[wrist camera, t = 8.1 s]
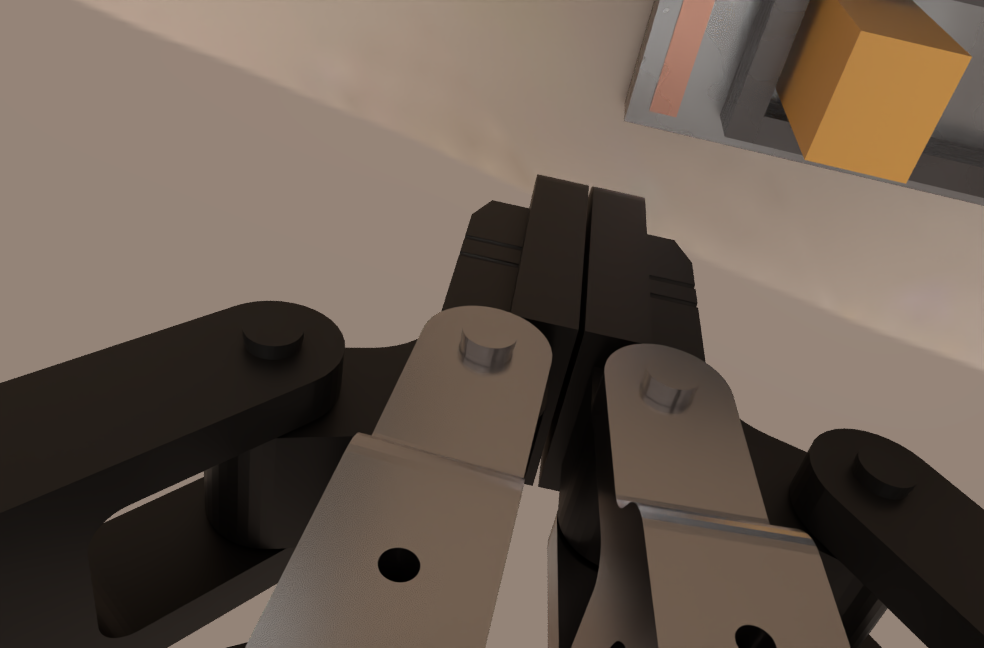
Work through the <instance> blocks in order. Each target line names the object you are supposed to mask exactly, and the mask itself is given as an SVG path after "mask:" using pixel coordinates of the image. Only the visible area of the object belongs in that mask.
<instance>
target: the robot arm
mask: <svg viewBox="0 0 984 648" xmlns="http://www.w3.org/2000/svg"><path fill="white" fill-rule="evenodd" d="M588 191H589V186H588V185H583V184H579V183H574V182H570V181H565V180H561V179H556V178H552V177H547V176H543V175H538V174H537V178H536V182H535V186H534V190H533V194H532V199H531V204H530V207H529V208H525V207H520V206H516V205H511V204H506V203H502V202H497V201H493V200H492V201H491V202H489V203H488V204H486V205H485V206H483V207H482V208H481V209H479V210H478V211H476V212H475V213H473V214H472V216H471V219H470V222H469V226H468V228H467V232H466V235H465V239H464V241H463V244H462V248H461V251H460V255H459V257H458V260H457V263H456V267H455V270H454V273H453V276H452V279H451V283H450V286H449V289H448V292H447V295H446V299H445V302H444V305H443V308H442V311H441V312H439V313H438V314H436V315H434V316H433V317H432V318H431V319H430V320H429V321H428V322H427V323H426V324H425V326H424V328H423V330H422V332H421V334H420V336H419V338H418V339H416V340H414V341H411V342H409V343H406V344H401V345H397V346H391V347H382V348H345V341H344V338H343V335H342V333H341V331H340V330H339V328H338V326H336V325H335V323H334V322H333V321H332V320H330V319H329V318H328V317H326V316H325V315H323V314H321V313H320V312H318V311H316V310H313V309H311V308H308V307H306V306H302V305H298V304H294V303H289V302H282V301H257V302H250V303H245V304H241V305H237V306H234V307H231V308H228V309H225V310H222V311H218V312H215V313H213V314H209V315H206V316H203V317H200V318H197V319H194V320H191V321H188V322H185V323H182V324H179V325H176V326H173V327H170V328H167V329H164V330H161V331H158V332H155V333H151V334H148V335H145V336H142V337H140V338H136V339H133V340H130V341H127V342H124V343H121V344H118V345H115V346H112V347H109V348H106V349H103V350H100V351H97V352H94V353H91V354H88V355H84V356H81V357H79V358H75V359H72V360H70V361H66V362H63V363H60V364H57V365H54V366H51V367H48V368H45V369H42V370H39V371H36V372H33V373H30V374H27V375H24V376H21V377H18V378H14V379H11V380H8V381H5V382H2V383H0V648H167V647H169V646H171V645H173V644H174V643H176V642H178V641H179V640H181V639H183V638H185V637H186V636H188V635H190V634H191V633H193V632H195V631H196V630H198V629H200V628H202V627H203V626H205V625H207V624H209V623H210V622H212V621H214V620H215V619H217V618H219V617H220V616H222V615H224V614H226V613H227V612H229V611H231V610H232V609H234V608H236V607H238V606H239V605H241V604H243V603H244V602H246V601H248V600H249V599H251V598H253V597H255V596H256V595H258V594H260V593H261V592H263V591H265V590H267V589H269V588H270V587H272V586H273V585H275V584H277V583H278V584H277V586H276V588H275V590H274V592H273V594H272V596H271V598H270V600H269V601H268V603H267V606H266V608H265V609H264V611H263V613H262V616H261V617H260V619H259V621H258V623H257V625H256V627H255V629H254V631H253V633H252V635H251V637H250V639H249V641H248V642H247V643H243V644H240V645H235V646H231V647H227V648H485V647H486V643H487V638H488V634H489V630H490V626H491V621H492V617H493V613H494V609H495V605H496V600H497V596H498V592H499V588H500V584H501V580H502V575H503V571H504V567H505V563H506V559H507V554H508V550H509V546H510V542H511V538H512V533H513V529H514V525H515V520H516V516H517V512H518V508H519V504H520V500H521V496H522V491H523V487H524V484H527V485H532V486H533V483H534V479H535V476H536V473H537V469H538V466H539V462H540V459H541V466H540V476H539V484H538V487H542V488H546V489H551V490H556V491H560V493H559V505H558V511H557V514H556V517H555V520H554V524H553V526H552V529H551V533H550V536H549V539H548V546H547V555H548V556H547V557H548V558H547V559H548V561H547V564H548V565H547V566H548V569H547V570H548V648H881V646H879V644H878V643H877V642H876V641H875V640H874V639H873V638H872V637H871V636H870V635H869V633H870V632H871V630H872V629H873V628H874V626H875V625H876V623H877V622H878V621H879V619H880V618H881V617H882V615H883V614H884V612H885V611H886V610H887V608H888V609H889V610H890V611H891V612H892V613H893V614H894V615H895V616H896V617H898V619H900V620H901V622H903V623H904V624H905V625H906V626H907V627H908V628H909V629H910V630H911V631H912V632H913V633H914V634H915V635H916V636H917V637H918V638H919V639H920V640H921V641H922V642H923V643H924V644H925V645H926V646H927V647H928V648H984V509H982V508H981V507H980V506H979V505H977V504H976V503H975V502H974V501H972V500H971V499H970V498H969V497H968V496H966V495H965V494H964V493H963V492H961V491H960V490H959V489H958V488H957V487H955V486H954V485H952V484H951V483H950V482H949V481H948V480H947V479H945V478H944V477H943V476H942V475H940V474H939V473H938V472H937V471H936V470H934V469H933V468H932V467H930V465H928V464H927V463H925V461H923V460H922V459H921V458H919V457H918V456H917V455H915V454H914V453H913V452H911V451H909V450H908V449H906V448H905V447H903V446H901V445H899V444H897V443H895V442H893V441H891V440H889V439H887V438H884V437H882V436H879V435H877V434H873V433H870V432H866V431H861V430H855V429H834V430H831V431H826V432H824V433H822V434H820V435H819V436H818V437H817V438H816V439H815V440H814V441H813V443H812V445H811V447H810V449H809V450H808V452H805V451H803V450H801V449H798V448H796V447H794V446H792V445H789V444H787V443H785V442H783V441H780V440H778V439H776V438H774V437H771V436H769V435H767V434H765V433H763V432H761V431H758V430H757V429H755V428H753V427H752V426H750V425H748V424H747V423H745V422H744V421H742V420H741V419H740V418H739V414H738V411H737V407H736V404H735V400H734V396H733V394H732V391H731V389H730V387H729V385H728V384H727V383H726V381H725V380H724V379H723V377H722V376H721V375H720V374H719V373H718V372H717V371H716V370H714V369H713V368H712V367H711V366H710V365H708V364H706V363H705V355H704V348H703V341H702V334H701V326H700V319H699V312H698V308H697V307H696V306H697V297H696V290H695V289H694V286H695V283H694V275H693V268H692V262H691V261H690V260H689V259H688V257H687V256H686V255H685V253H684V252H683V251H682V250H681V248H680V247H679V246H678V244H677V243H676V242H675V241H674V240H671V239H666V238H661V237H657V236H652V235H648V234H647V227H646V208H645V198H643V197H638V196H634V195H629V194H625V193H620V192H616V191H611V190H607V189H602V188H598V187H592V188H591V191H590V193H589V196H588ZM541 456H542V457H541ZM203 471H204V477H203V478H200V479H198V480H196V481H194V482H192V483H190V484H188V485H185V486H183V487H181V488H179V489H177V490H174V491H172V492H170V493H168V494H166V495H164V496H161V497H159V498H157V499H155V500H153V501H151V502H148V503H146V504H144V505H142V506H140V507H137V508H135V509H133V510H131V511H129V512H127V513H124V514H123V515H120V516H118V517H116V518H114V519H112V520H109V521H107V522H105V521H106V520H107V519H108V518H109V517H111V516H112V515H113V514H114V513H116V512H117V511H119V510H121V509H123V508H124V507H126V506H128V505H130V504H133V503H135V502H137V501H139V500H141V499H143V498H146V497H148V496H150V495H152V494H154V493H157V492H159V491H161V490H163V489H165V488H167V487H170V486H172V485H174V484H177V483H179V482H181V481H183V480H185V479H187V478H189V477H192V476H194V475H196V474H198V473H201V472H203ZM104 522H105V523H104Z"/></svg>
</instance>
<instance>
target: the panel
mask: <svg viewBox="0 0 984 648" xmlns="http://www.w3.org/2000/svg"><path fill="white" fill-rule="evenodd" d="M809 1H810V0H655V1H654V5H653V8H652V12H651V15H650V19H649V22H648V25H647V29H646V32H645V36H644V39H643V43H642V46H641V49H640V53H639V56H638V60H637V63H636V66H635V70H634V73H633V77H632V80H631V84H630V87H629V90H628V94H627V97H626V101H625V116H624V121H627V122H631V123H635V124H640V125H644V126H648V127H652V128H657V129H661V130H665V131H669V132H674V133H678V134H682V135H686V136H690V137H695V138H699V139H703V140H707V141H712V142H716V143H720V144H724V145H729V146H733V147H737V148H741V149H746V150H750V151H754V152H758V153H763V154H767V155H771V156H775V157H779V158H784V159H788V160H792V161H796V162H801V163H805V164H809V165H813V166H818V167H822V168H826V169H830V170H835V171H839V172H843V173H847V174H852V175H856V176H860V177H864V178H869V179H873V180H877V181H881V182H885V183H890V184H894V185H898V186H902V187H907V188H911V189H915V190H919V191H924V192H928V193H932V194H936V195H941V196H945V197H949V198H953V199H958V200H962V201H966V202H970V203H975V204H979V205H983V206H984V0H913V1H914V2H915V3H916V4H917V5H918V6H919V7H920V8H921V9H922V10H923V11H924V12H925V13H926V14H927V15H928V16H930V17H931V18H932V19H933V20H934V21H935V22H936V23H937V24H938V25H939V26H940V27H941V28H942V29H943V30H944V31H945V32H946V33H948V34H949V35H950V36H951V37H952V38H953V39H954V40H955V41H956V42H957V43H958V44H959V45H960V46H961V47H962V48H963V49H964V50H966V51H967V52H968V53H969V54H970V55H971V56H972V58H971V60H970V62H969V64H968V66H967V68H966V70H965V72H964V74H963V76H962V77H961V79H960V81H959V83H958V85H957V87H956V89H955V91H954V93H953V95H952V97H951V99H950V100H949V102H948V104H947V106H946V108H945V110H944V112H943V114H942V116H941V118H940V120H939V121H938V123H937V125H936V127H935V129H934V131H933V133H932V135H931V137H930V139H929V141H928V143H927V144H926V146H925V148H924V150H923V152H922V154H921V156H920V158H919V160H918V162H917V164H916V165H915V167H914V169H913V171H912V173H911V175H910V177H909V179H908V181H907V183H906V184H905V183H901V182H896V181H892V180H888V179H884V178H879V177H875V176H871V175H867V174H862V173H858V172H854V171H850V170H845V169H841V168H837V167H833V166H828V165H824V164H820V163H816V162H811V161H807V160H804V157H803V155H802V152H801V150H800V147H799V145H798V142H797V140H796V138H795V135H794V133H793V130H792V128H791V125H790V123H789V120H788V118H787V115H786V113H785V110H784V108H783V105H782V103H781V100H780V98H779V96H778V93H777V91H776V88H775V87H776V85H777V82H778V79H779V77H780V74H781V72H782V69H783V67H784V64H785V62H786V59H787V57H788V54H789V52H790V49H791V47H792V44H793V42H794V39H795V36H796V34H797V31H798V29H799V26H800V24H801V21H802V19H803V16H804V14H805V11H806V9H807V6H808V4H809Z"/></svg>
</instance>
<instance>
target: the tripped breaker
mask: <svg viewBox="0 0 984 648" xmlns="http://www.w3.org/2000/svg"><path fill="white" fill-rule="evenodd" d="M971 58H972V56H971V55H970V54H969V53H968V52H967V51H966V50H964V49H963V48H962V47H961V46H960V45H959V44H958V43H957V42H956V41H955V40H954V39H953V38H952V37H951V36H950V35H949V34H948V33H946V32H945V31H944V30H943V29H942V28H941V27H940V26H939V25H938V24H937V23H936V22H935V21H934V20H933V19H932V18H931V17H930V16H928V15H927V14H926V13H925V12H924V11H923V10H922V9H921V8H920V7H919V6H918V5H917V4H916V3H915V2H914V1H913V0H810V1H809V4H808V6H807V9H806V11H805V14H804V16H803V19H802V21H801V24H800V26H799V29H798V31H797V34H796V36H795V39H794V42H793V44H792V47H791V49H790V52H789V54H788V57H787V59H786V62H785V64H784V67H783V69H782V72H781V74H780V77H779V79H778V82H777V85H776V87H775V88H776V91H777V93H778V96H779V98H780V100H781V103H782V105H783V108H784V110H785V113H786V115H787V118H788V120H789V123H790V125H791V128H792V130H793V133H794V135H795V138H796V140H797V142H798V145H799V147H800V150H801V152H802V155H803V157H804V160H807V161H811V162H816V163H820V164H824V165H828V166H833V167H837V168H841V169H845V170H850V171H854V172H858V173H862V174H867V175H871V176H875V177H879V178H884V179H888V180H892V181H896V182H901V183H905V184H906V183H907V181H908V179H909V177H910V175H911V173H912V171H913V169H914V167H915V165H916V164H917V162H918V160H919V158H920V156H921V154H922V152H923V150H924V148H925V146H926V144H927V143H928V141H929V139H930V137H931V135H932V133H933V131H934V129H935V127H936V125H937V123H938V121H939V120H940V118H941V116H942V114H943V112H944V110H945V108H946V106H947V104H948V102H949V100H950V99H951V97H952V95H953V93H954V91H955V89H956V87H957V85H958V83H959V81H960V79H961V77H962V76H963V74H964V72H965V70H966V68H967V66H968V64H969V62H970V60H971Z"/></svg>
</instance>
